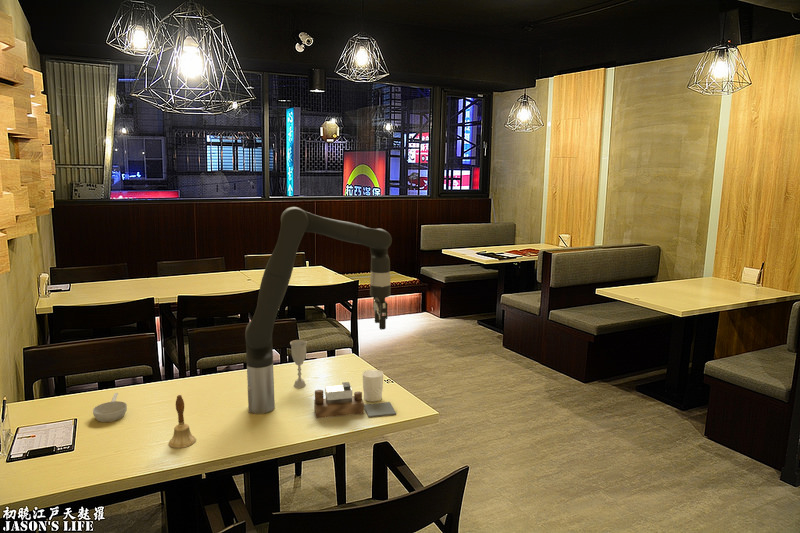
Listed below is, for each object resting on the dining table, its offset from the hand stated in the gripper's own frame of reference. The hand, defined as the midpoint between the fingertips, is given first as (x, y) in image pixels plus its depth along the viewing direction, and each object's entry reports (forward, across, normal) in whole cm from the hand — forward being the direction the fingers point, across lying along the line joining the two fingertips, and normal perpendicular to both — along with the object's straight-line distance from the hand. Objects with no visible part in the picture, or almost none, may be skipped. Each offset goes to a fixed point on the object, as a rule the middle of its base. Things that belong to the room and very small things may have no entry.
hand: (380, 325), depth 216 cm
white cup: (+29, 0, -2) cm, 29 cm away
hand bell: (+29, +20, -69) cm, 77 cm away
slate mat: (+28, +11, -2) cm, 31 cm away
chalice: (+29, -19, -29) cm, 45 cm away
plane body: (+29, +9, -17) cm, 34 cm away
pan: (+30, -10, -96) cm, 101 cm away
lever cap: (+23, +9, -17) cm, 29 cm away
